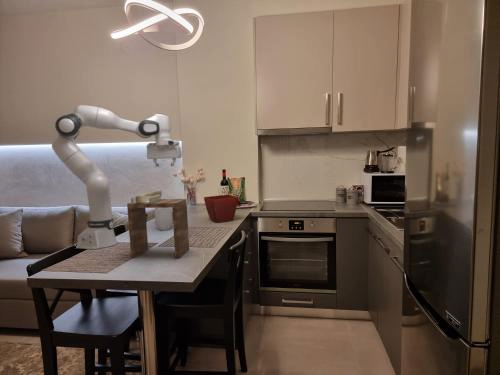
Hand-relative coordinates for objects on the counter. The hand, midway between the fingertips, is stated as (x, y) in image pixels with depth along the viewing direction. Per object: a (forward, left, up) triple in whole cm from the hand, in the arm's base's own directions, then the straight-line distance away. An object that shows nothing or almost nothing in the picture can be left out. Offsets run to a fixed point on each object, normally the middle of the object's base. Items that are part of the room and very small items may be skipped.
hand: (164, 166), depth 201 cm
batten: (+4, -31, -15) cm, 34 cm away
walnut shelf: (+10, -35, -41) cm, 55 cm away
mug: (-9, +18, -41) cm, 46 cm away
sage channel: (+4, -34, -15) cm, 38 cm away
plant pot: (+21, +44, -41) cm, 64 cm away
